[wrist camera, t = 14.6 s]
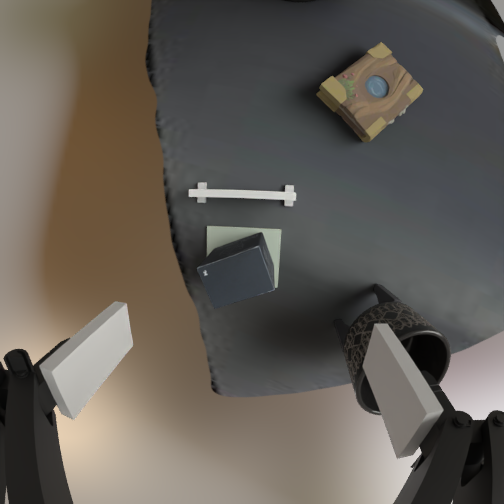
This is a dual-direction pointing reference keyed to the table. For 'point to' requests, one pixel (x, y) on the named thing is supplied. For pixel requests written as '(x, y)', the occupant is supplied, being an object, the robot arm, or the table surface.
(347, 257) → the table surface
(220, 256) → the box
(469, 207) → the table surface
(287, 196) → the handle
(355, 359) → the planter
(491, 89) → the table surface
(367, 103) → the book
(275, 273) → the pad
